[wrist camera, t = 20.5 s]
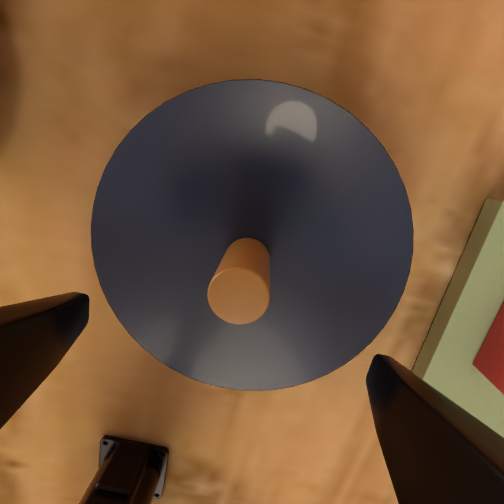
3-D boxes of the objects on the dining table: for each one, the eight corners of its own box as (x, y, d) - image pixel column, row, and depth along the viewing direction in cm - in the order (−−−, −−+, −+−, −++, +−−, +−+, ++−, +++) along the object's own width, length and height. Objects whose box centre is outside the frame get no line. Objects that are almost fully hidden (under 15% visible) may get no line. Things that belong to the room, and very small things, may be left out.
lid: (352, 402, 20) (385, 497, 14) (95, 350, 20) (25, 424, 14) (455, 123, 15) (574, 95, 9) (108, 52, 15) (5, -21, 9)
